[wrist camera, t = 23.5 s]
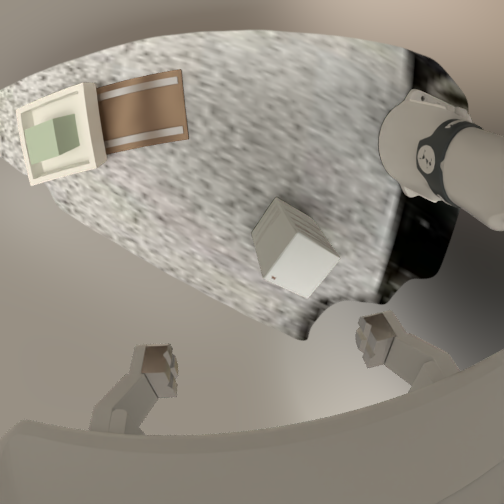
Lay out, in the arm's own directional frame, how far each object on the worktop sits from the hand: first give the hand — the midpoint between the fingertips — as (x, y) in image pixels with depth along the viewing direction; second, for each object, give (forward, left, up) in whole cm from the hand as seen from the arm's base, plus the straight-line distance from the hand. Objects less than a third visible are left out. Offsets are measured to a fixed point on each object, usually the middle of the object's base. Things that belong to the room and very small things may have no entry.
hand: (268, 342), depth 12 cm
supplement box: (-7, +11, -33) cm, 36 cm away
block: (+22, -9, -28) cm, 37 cm away
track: (+16, -9, -33) cm, 38 cm away
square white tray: (+22, -9, -32) cm, 39 cm away
